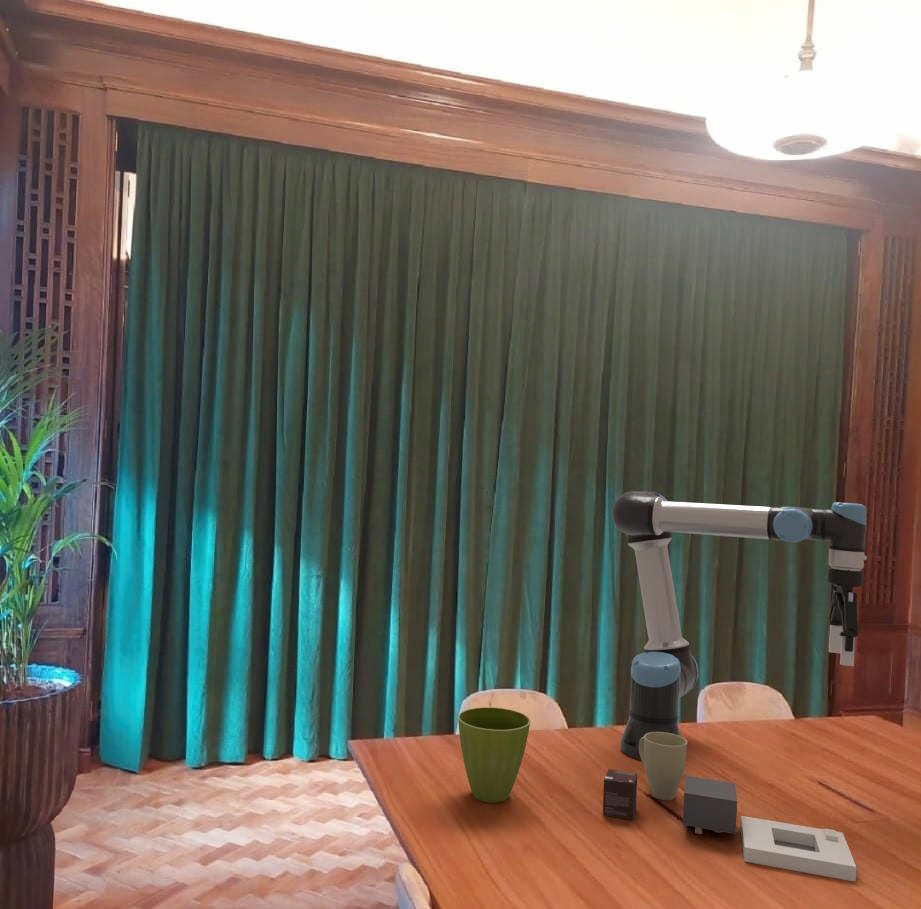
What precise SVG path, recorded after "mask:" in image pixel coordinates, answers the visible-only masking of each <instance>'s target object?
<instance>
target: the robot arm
mask: <svg viewBox="0 0 921 909" xmlns="http://www.w3.org/2000/svg"><path fill="white" fill-rule="evenodd" d="M611 518H612V521H613V523H614V526H615V527H616V528H617V529H618V530H619V531H620V532H622V533H623V534H625V535H626V541H627V545H628V546H629V547H630V548H632V549H633V550H634V554H635V559H636V568H637V573H638V574H637V575H638V579H639V586H640V593H641V594H640V595H641V599H642V605H643V613H644V619H645V625H646V632H647V637H648V640H647V642H646V644H645V645H644V646H643V649H644V652H641V653H639V654H636V655H635V656H634V657H633V658H632V661H631V666H630V692H629V694H630V695H629V714H628V720H627V722H626V726H625V728H624V731H623V733H622V736H621V739H620V750H621V752H622V753H624V754H625V756H626V755H627V756H628V757H630V758H633V759H636V760H640V761H642V760H641V758H640V754H639V741H640V739H641V738H642V737H644V735H645V734H647V733H651V732H665V733H671V734H675V735H678V736H681V731H680V727H679V723H678V721H679V704H680V702H679V701H680V699H681V698H682V697H684V696H686V695H687V694H689V693H690V692H691V691H692V690H693V689H694V687H695V686H696V684H697V681H698V678H699V666H698V663H697V661H696V659H695V658H694V656H693V655H692V653H691V647H690V643H689V641H687V640H686V639H685V638H684V637H683V636H682V630H681V623H680V617H679V610H678V604H677V598H676V592H675V587H674V580H673V574H672V566H671V562H670V554H669V550H668V549H669V548H668V545H669V544H670V542H671V541H672V533H680V534H694V535H706V536H707V535H708V536H719V537H734V538H748V539H760V540H761V539H763V540H772V541H781V542H782V541H784V542H787V543H801V542H802V541H804V540H810V541H823V542H829V548H828V563H827V565H829V566H830V567H829V568H828V569H827V583H828V584H830V585H833V586H832V595H831V600H830V607H829V608H830V609H829V614H828V617H827V618H828V619H827V620H828V621H829V624H830V625H829V636H828V637H829V639H828V640H829V641H828V652H829V653H832V654H833V653H834V654H840V657H839V658H840V660H839V664H840V666H849V667H854V666H855V653H856V652H855V649H856V638H857V637H858V636H859V629H858V628H859V626H858V609H857V599H858V595H857V593H856V592H854V591H853V589H854V588H861V587H863V586H864V572H863V569H864V567H865V561H867V559H868V556H867V555H865V552H866V539H867V537H866V536H867V524H868V523H867V507H866V506H865V505H864V504H862V503H861V504H860V503H854V502H853V503H851V502H839V501H838V502H837V501H836V502H835V501H834V502H832V505H831V508H830V509H820V508H811V507H809V508H808V507H798V506H780V507H772V506H771V507H770V506H759V505H758V506H755V505H738V504H721V503H707V502H705V503H703V502H689V501H686V502H685V501H671V500H670V501H669V500H668V499H666V498H665V496H663V495H662V494H660V493H658V492H655V491H650V490H642V491H641V490H639V491H638V490H634V491H633V490H632V491H626V492H625V493H623V494H621V495H620V496H618V498H617V499H616V500H615V502H614V503H613V506H612V509H611ZM681 737H682V736H681Z"/></svg>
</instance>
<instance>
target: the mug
mask: <svg viewBox="0 0 921 909" xmlns="http://www.w3.org/2000/svg"><path fill="white" fill-rule="evenodd" d="M687 751H688V740H687V739H686V738H684V737H683V736H678V735H675V734H671V733H665V732H651V733H647V734H645V735H644V737H642V738H641V739H640V741H639V754H640V758H641V760H640V761H641V762H642V765H643V767H644V768H645V775H646V778H647V783H648V786H649V790H650V793H651V796H652V797H653V798H655V799H658V800H660V799H661V801H672V800H674V799H675V798H676V796H677V793H678V790H679V787H680V784H681V782H682V780H683V777H684V773H685V766H686V759H687Z"/></svg>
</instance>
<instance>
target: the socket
mask: <svg viewBox="0 0 921 909" xmlns="http://www.w3.org/2000/svg"><path fill="white" fill-rule="evenodd" d="M740 836H741V845H742V854H743V862H745V863H751V864H755V865H756V864H757V865H762V866H765V867H766V866H767V867H773V868H779V869H785V870H789V871H794V872H800V873H805V874H811V875H816V876H822V877H828V878H833V879H839V880H845V881H849V882H857V865H856V862H855V860H854V857H853V855H852V852H851V850H850V847H849V846H848V843H847V840H846V838H845V835H844V832H841V831H836V830H835V829H830V828H816V827H811V826H806V825H798V824H792V823H787V822H781V821H773V820H768V819H763V818H756V817H751V816H744V815H741V816H740Z"/></svg>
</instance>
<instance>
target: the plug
mask: <svg viewBox="0 0 921 909" xmlns="http://www.w3.org/2000/svg"><path fill="white" fill-rule="evenodd" d="M683 789H684V790H683V806H682V807H683V809H682V810H683V811H682V825H683V826H688V827H693V828H695V830H694V831H695V832H694V833H695V834H698V835H702V834H703V829H704V830H711V831H714V833H718V834H722V832H723V833H728V834H732V835H733V834H734V835H737V834H736V833H737V817H738V816H737V812H738V798H737V796H738V795H737V788H736V782H731V781H723V780H718V779H710V778H705V777H699V776H691V775H687V774H686V775H684V787H683Z"/></svg>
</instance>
